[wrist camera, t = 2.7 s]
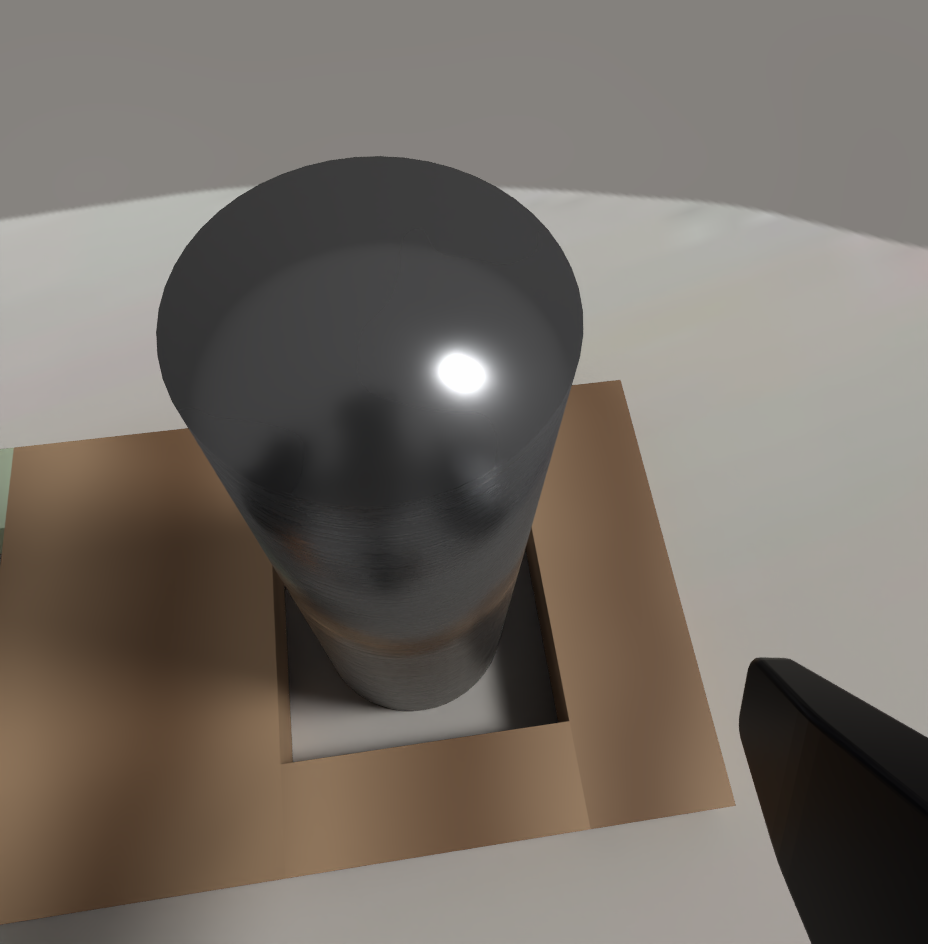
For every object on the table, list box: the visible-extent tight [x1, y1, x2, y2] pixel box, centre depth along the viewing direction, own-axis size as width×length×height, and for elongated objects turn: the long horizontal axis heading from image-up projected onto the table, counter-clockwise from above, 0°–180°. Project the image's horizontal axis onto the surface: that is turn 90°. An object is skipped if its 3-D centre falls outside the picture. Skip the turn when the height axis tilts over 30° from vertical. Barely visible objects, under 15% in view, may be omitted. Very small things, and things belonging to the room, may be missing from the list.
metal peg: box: [156, 156, 583, 711], centre depth 14 cm, size 5×5×13 cm
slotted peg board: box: [0, 380, 736, 925], centre depth 19 cm, size 26×11×2 cm, turn 98°
